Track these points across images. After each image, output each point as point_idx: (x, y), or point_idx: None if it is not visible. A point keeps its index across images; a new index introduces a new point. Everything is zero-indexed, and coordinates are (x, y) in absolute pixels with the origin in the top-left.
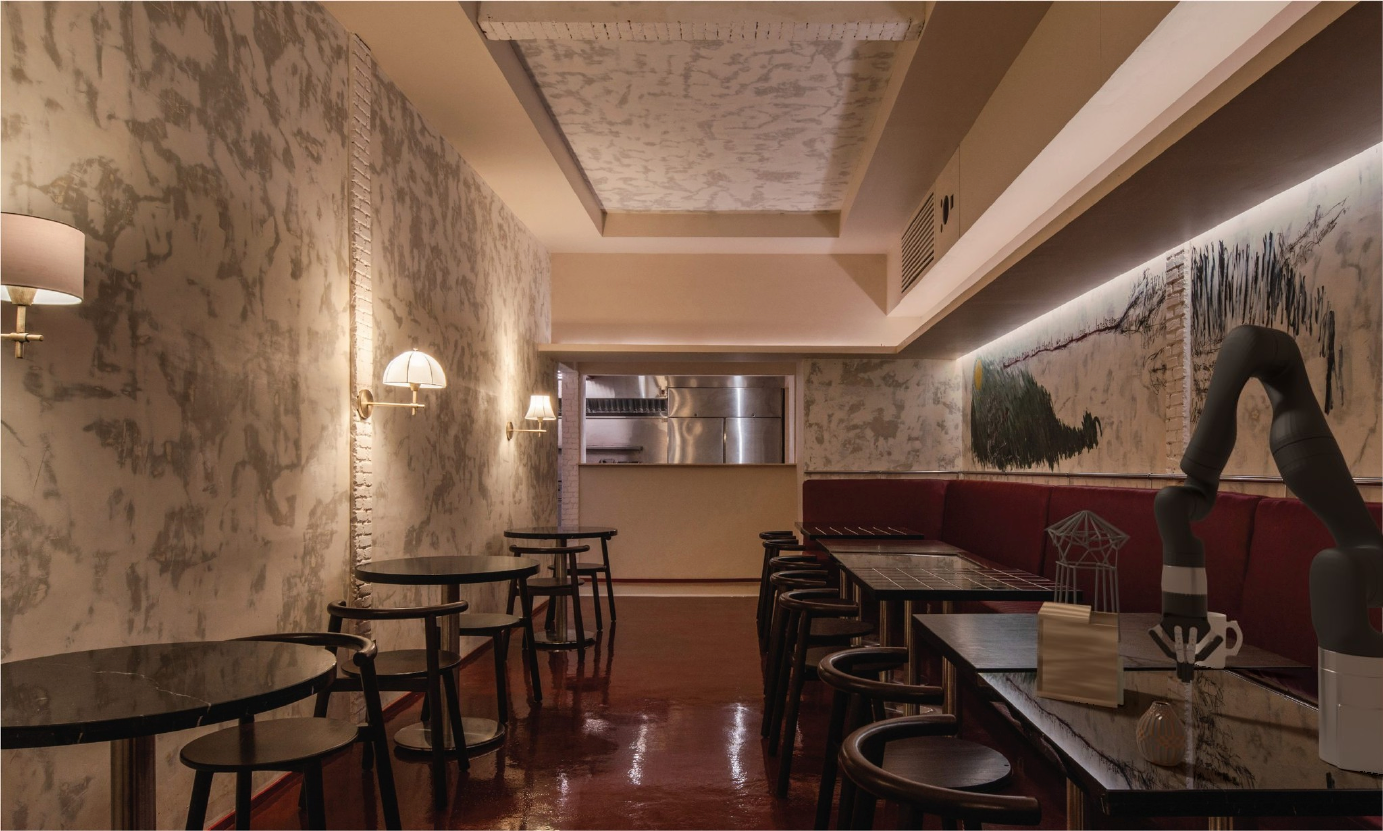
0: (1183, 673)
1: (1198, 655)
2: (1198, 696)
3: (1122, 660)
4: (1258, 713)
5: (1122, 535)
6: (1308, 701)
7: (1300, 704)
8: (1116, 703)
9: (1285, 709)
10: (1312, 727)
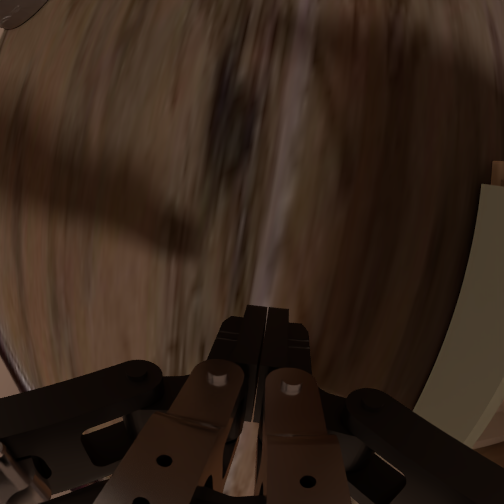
0: (277, 329)
1: (152, 404)
2: None
3: (464, 442)
4: (83, 307)
5: None
6: None
7: None
8: (502, 162)
9: (50, 364)
10: (9, 222)
